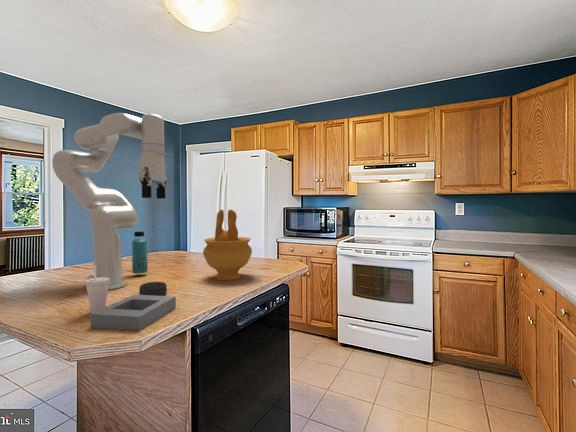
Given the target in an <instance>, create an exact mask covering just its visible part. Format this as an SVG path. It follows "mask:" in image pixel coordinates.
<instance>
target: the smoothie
mask: <svg viewBox="0 0 576 432" xmlns="http://www.w3.org/2000/svg"><path fill="white" fill-rule="evenodd" d="M93 275H94V278H92V279H88V280H86V279H85V281H84V285H85V286H86V291H87V292H86V293H87V299H88V304H89V305H88V306H89V309H90V314H91V313H94V312H96V311H98V310H100V309H103V308H105V307H107V300H108V292H109V291H108V283H109V282H110V279H109V278H106V277H99V278H97V277H96V265H94V264H93Z"/></svg>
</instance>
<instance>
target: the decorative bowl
mask: <svg viewBox="0 0 576 432" xmlns="http://www.w3.org/2000/svg"><path fill="white" fill-rule="evenodd" d="M224 216H225V213H224V210H223V209H220V210H218V212H217V213H216V218H215V219H216V223H215V232H214V237H210V238H204V239H203V241H204V242H205V243H206V246H205V247H204V248H203V250H202V255H203V257H204V259H205V262H206V263H207V265H208V266H209V267H211V268H212V269H213V270H215V271H216V272H217V274H216V277H215V279H216V280H219V281H234V280H238V279H240V278H241V276H240V273H239V271H240V270H241V268H243V267H245V266H246V265H248V262H249V260H250V258H251V256H252V253H253V249H252V246H250V245H249V242H250V241H251V240H252V238H251V237H244V236H239V230H238V227H237V218H238V217H237V216H238V215H237V213H236V211H234V210H233V209H228V210H227V230H225V229H224V228H223V223H224V219H225V217H224Z"/></svg>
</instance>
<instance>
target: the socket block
mask: <svg viewBox="0 0 576 432" xmlns="http://www.w3.org/2000/svg"><path fill="white" fill-rule="evenodd" d="M176 301H177V299H176V296H171V295H170V296H169V295H163V296H153V295H140V294H132V295H130V296H128V297H126V298H123V299H121V300H118V301H117V302H114V303H112V304H109V305H106V307H105V308H103V309H100V310H98V311H96V312H94V313H91V312H90V313H89V314H90V315H89V316H90V318H89V319H90V322H89V323H90V328H97V329H112V330H113V329H114V330H129V331H141V330H143V329H144V327H145V328H146V327H148V326H149V325H151V324H152V323H154V322H155V321H157V320H159V319H161V318H162V317H163V316H165V315H166V314H168V313H170V312H172V311H173V310H174V309H176V307H177V304H176V303H177V302H176Z"/></svg>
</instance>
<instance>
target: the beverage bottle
mask: <svg viewBox="0 0 576 432" xmlns="http://www.w3.org/2000/svg"><path fill="white" fill-rule="evenodd" d="M133 236H134V237H137V238H135V239H133V240H132V241H131V252H132V253H131V260H132V261H131V262H132V263H131V266H132V267H131V268H132V269H131V270H132V274H134V275H135V274H136V275H138V274H139V275H140V274H147V273H148V263H149V261H148V260H149V259H148V244H147V243H148V241H147V240H146V238H138V237H145V232H144V231H135V232H134V234H133Z"/></svg>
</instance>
